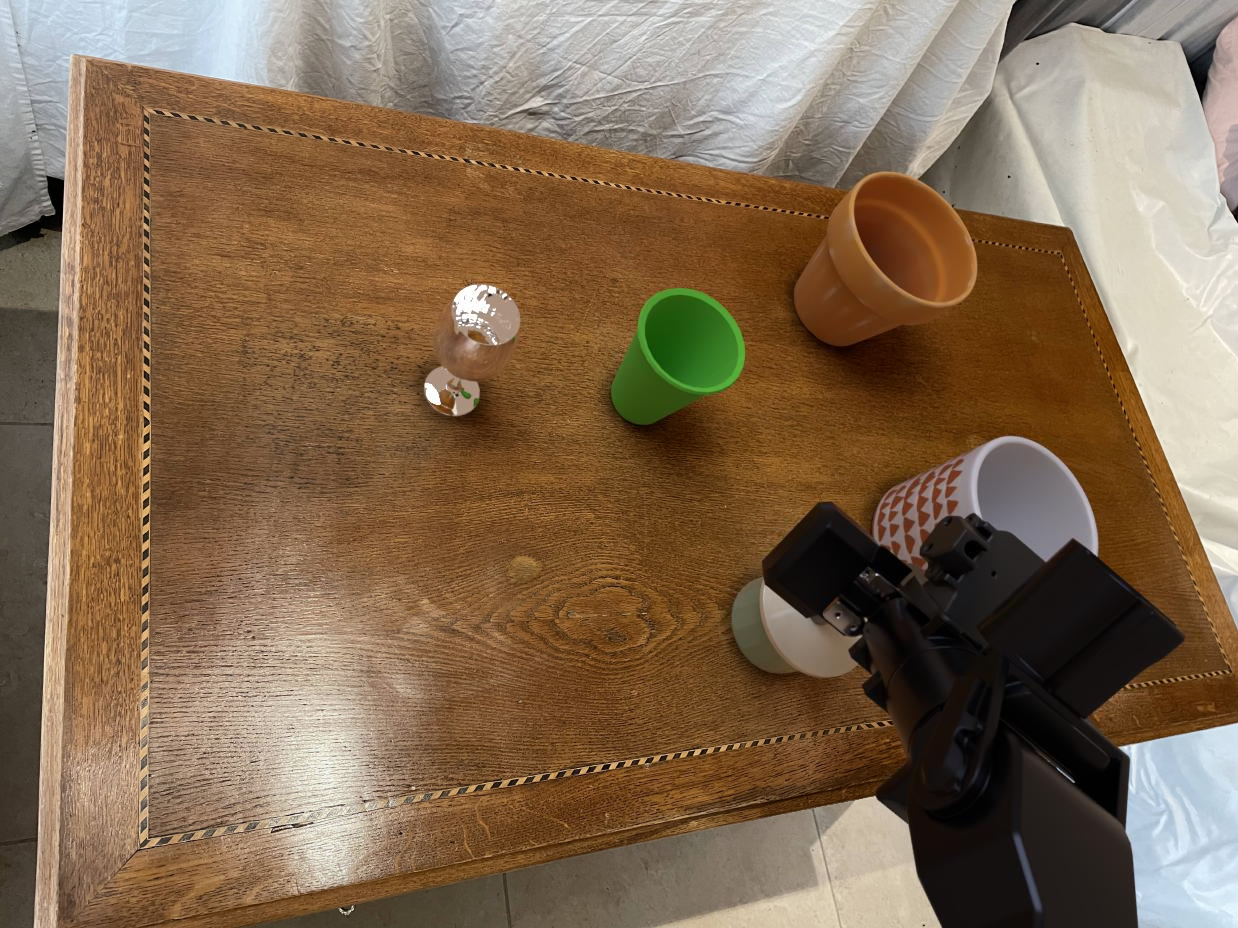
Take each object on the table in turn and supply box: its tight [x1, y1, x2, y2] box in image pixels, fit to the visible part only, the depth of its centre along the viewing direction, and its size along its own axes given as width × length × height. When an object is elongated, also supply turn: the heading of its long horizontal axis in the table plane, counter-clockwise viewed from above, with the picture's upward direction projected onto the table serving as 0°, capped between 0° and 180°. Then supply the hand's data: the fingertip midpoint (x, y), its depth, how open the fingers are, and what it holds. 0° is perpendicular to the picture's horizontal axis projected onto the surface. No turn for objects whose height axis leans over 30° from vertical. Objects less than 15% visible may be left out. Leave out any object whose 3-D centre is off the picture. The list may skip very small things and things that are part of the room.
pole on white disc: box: [760, 563, 928, 679], centre depth 56 cm, size 10×10×11 cm
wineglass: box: [423, 283, 521, 417], centre depth 57 cm, size 6×6×12 cm
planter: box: [871, 435, 1099, 573], centre depth 70 cm, size 14×14×13 cm
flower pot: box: [793, 171, 978, 347], centre depth 76 cm, size 14×14×13 cm
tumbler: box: [730, 575, 799, 675], centre depth 64 cm, size 8×8×6 cm
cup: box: [610, 287, 746, 426], centre depth 64 cm, size 9×9×11 cm
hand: (877, 579), depth 56 cm, fingers closed on pole on white disc, 2 cm apart
